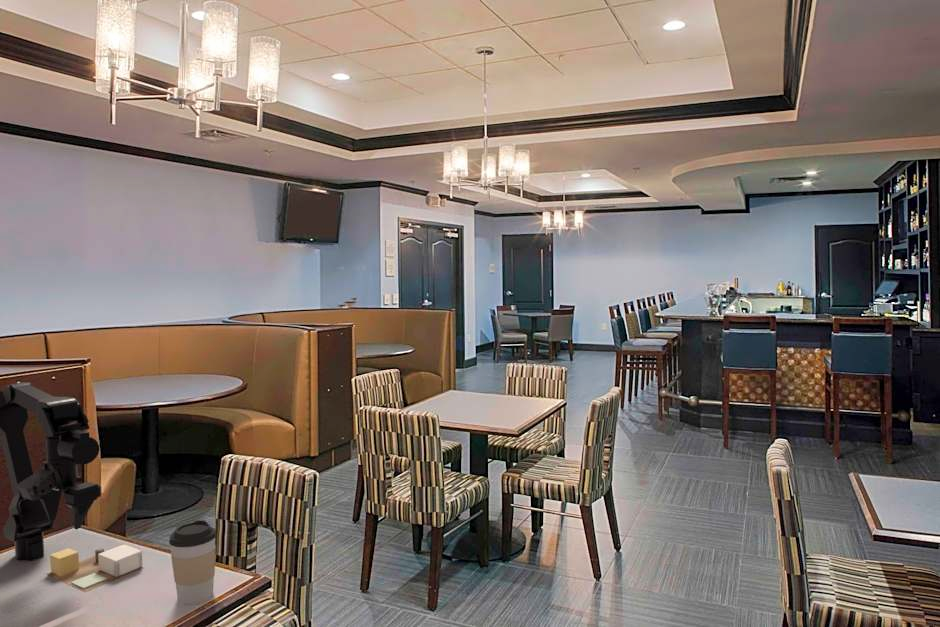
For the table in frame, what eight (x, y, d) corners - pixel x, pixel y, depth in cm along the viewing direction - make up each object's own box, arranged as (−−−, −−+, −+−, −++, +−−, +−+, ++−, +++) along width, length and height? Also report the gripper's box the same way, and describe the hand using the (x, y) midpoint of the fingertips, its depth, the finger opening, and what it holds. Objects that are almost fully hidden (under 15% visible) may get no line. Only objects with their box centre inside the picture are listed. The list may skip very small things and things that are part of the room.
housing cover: (98, 569, 149) (98, 553, 149) (124, 559, 154) (124, 544, 154) (116, 576, 145) (115, 560, 145) (142, 566, 150) (141, 550, 150)
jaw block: (51, 572, 149) (50, 554, 148) (69, 565, 152) (68, 548, 152) (60, 576, 146) (59, 558, 146) (79, 569, 150) (78, 552, 150)
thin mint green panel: (71, 583, 143) (71, 582, 143) (94, 574, 147) (94, 572, 147) (83, 589, 140) (83, 587, 140) (107, 579, 145) (107, 578, 145)
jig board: (46, 578, 148) (45, 563, 148) (104, 556, 159) (104, 542, 159) (85, 596, 139) (84, 580, 139) (144, 572, 150) (143, 557, 150)
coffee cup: (202, 609, 133) (198, 536, 132) (162, 605, 135) (158, 533, 134) (227, 587, 142) (224, 519, 141) (189, 584, 144) (186, 516, 143)
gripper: (-2, 459, 144) (1, 529, 145) (49, 473, 135) (52, 547, 137) (50, 446, 154) (53, 512, 155) (101, 458, 145) (104, 528, 146)
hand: (64, 524), depth 148 cm, fingers open, 9 cm apart
